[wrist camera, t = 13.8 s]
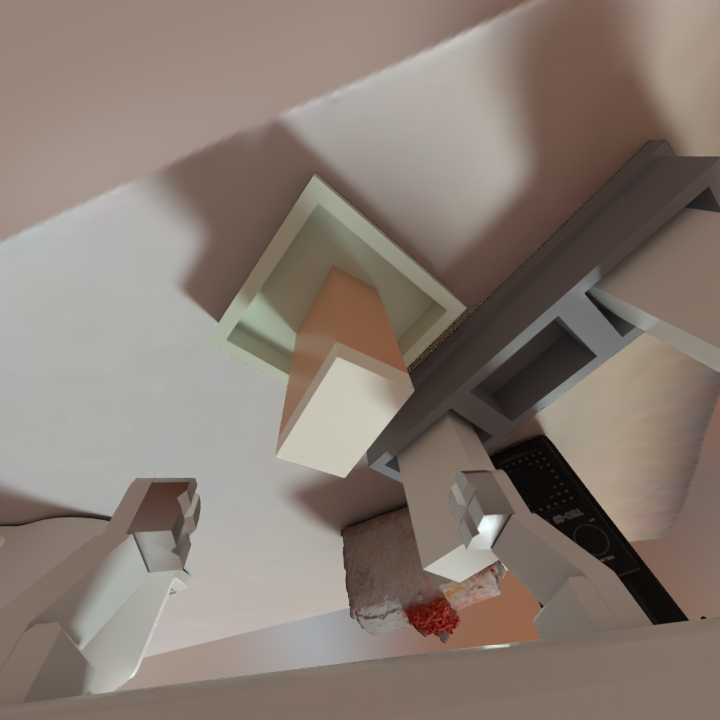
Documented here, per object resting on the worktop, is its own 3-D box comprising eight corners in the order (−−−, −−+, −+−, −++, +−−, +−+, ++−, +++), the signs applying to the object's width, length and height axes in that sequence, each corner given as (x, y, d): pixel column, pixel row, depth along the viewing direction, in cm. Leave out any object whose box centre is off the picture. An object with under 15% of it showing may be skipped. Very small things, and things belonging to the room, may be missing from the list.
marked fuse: (338, 352, 22) (344, 478, 13) (296, 334, 21) (275, 457, 12) (377, 289, 20) (414, 390, 11) (332, 265, 19) (337, 356, 10)
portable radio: (555, 424, 28) (1241, 1234, 7) (567, 462, 31) (1075, 1110, 10) (470, 460, 30) (820, 1207, 9) (490, 493, 33) (786, 1107, 12)
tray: (350, 398, 25) (352, 421, 23) (218, 323, 20) (205, 342, 18) (452, 292, 21) (466, 308, 19) (315, 172, 17) (313, 174, 14)
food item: (460, 473, 31) (509, 591, 22) (482, 514, 35) (530, 627, 27) (334, 521, 33) (337, 643, 25) (368, 555, 37) (380, 669, 29)
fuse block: (415, 460, 29) (457, 604, 20) (354, 428, 26) (369, 577, 17) (698, 228, 20) (1024, 292, 11) (650, 140, 17) (1034, 122, 8)
